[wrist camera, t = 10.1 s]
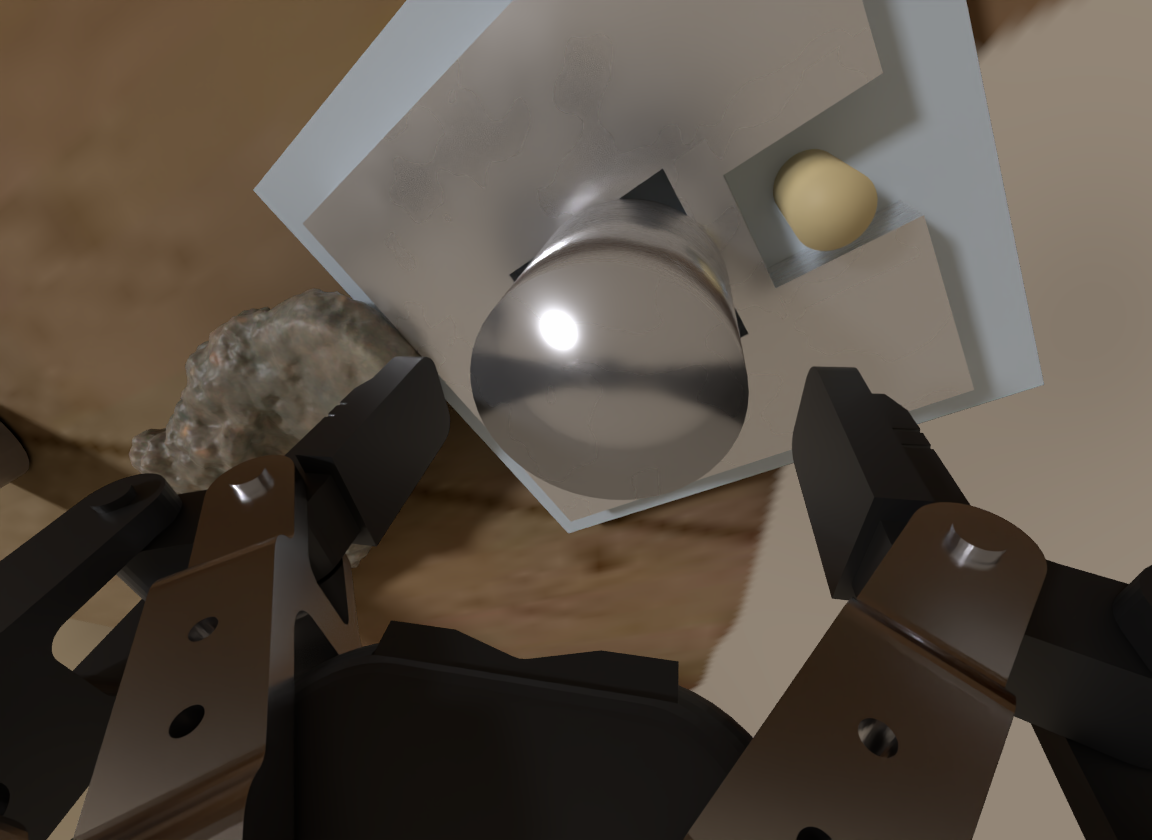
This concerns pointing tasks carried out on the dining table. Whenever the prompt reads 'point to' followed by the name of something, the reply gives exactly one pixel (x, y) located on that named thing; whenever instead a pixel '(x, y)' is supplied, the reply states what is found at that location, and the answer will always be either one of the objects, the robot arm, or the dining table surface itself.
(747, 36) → the flange plate
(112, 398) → the dining table surface
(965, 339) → the base plate
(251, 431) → the long grey stone
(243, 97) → the dining table surface
